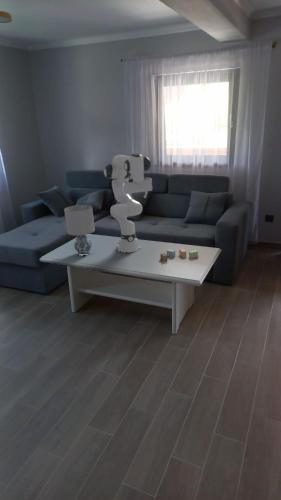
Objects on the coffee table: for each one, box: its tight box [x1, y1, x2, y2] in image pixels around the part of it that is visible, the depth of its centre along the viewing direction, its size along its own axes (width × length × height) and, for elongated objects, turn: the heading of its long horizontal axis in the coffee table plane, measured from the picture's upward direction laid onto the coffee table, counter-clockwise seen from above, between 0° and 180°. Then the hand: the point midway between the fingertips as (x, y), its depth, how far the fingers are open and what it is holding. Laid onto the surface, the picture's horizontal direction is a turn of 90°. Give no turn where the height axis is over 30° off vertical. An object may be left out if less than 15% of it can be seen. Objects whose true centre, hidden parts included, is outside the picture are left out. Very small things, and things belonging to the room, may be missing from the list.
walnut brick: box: [159, 252, 168, 262], centre depth 257 cm, size 6×3×4 cm, turn 20°
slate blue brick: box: [166, 249, 176, 258], centre depth 264 cm, size 6×3×4 cm, turn 50°
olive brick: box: [188, 249, 199, 259], centre depth 259 cm, size 6×3×4 cm, turn 110°
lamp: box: [63, 204, 95, 255], centre depth 274 cm, size 22×22×38 cm
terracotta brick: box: [178, 248, 187, 258], centre depth 262 cm, size 6×3×4 cm, turn 20°
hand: (138, 198), depth 239 cm, fingers open, 8 cm apart
